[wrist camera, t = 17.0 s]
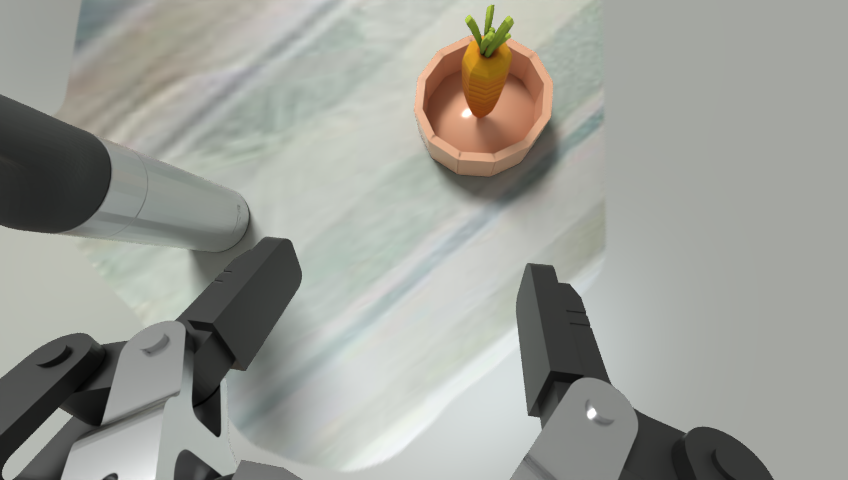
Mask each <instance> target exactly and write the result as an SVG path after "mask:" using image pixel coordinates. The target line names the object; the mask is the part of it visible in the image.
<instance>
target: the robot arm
mask: <svg viewBox="0 0 848 480" xmlns="http://www.w3.org/2000/svg"><path fill="white" fill-rule="evenodd" d="M248 221H249V212H248V207H247V205H246V202H245V201H244V199H243V198H242V197H241V196H240V195H239V194H238V193H237V192H235V191H233V190H231V189H229V188H226V187H224V186H221V185H219V184H216V183H214V182H211V181H209V180H207V179H204V178H202V177H199V176H197V175H194V174H192V173H189V172H187V171H184V170H182V169H179V168H177V167H174V166H172V165H169V164H167V163H164V162H162V161H159V160H157V159H154V158H152V157H149V156H147V155H144V154H142V153H139V152H137V151H134V150H132V149H129V148H127V147H124V146H122V145H119V144H117V143H114V142H112V141H109V140H107V139H104V138H102V137H99V136H97V135H94V134H92V133H89V132H87V131H85V130H82V129H79V128H77V127H74V126H72V125H69V124H67V123H65V122H63V121H60V120H58V119H56V118H53V117H51V116H49V115H47V114H45V113H42V112H40V111H38V110H35V109H33V108H31V107H29V106H26V105H24V104H21V103H19V102H17V101H15V100H12V99H10V98H8V97H5V96H3V95H0V225H2V226H5V227H8V228H12V229H17V230H24V231H32V232H41V233H50V234H59V235H67V236H76V237H85V238H95V239H104V240H112V241H121V242H130V243H139V244H147V245H156V246H165V247H174V248H182V249H190V250H200V251H209V252H221V251H224V250H227V249H229V248H231V247H233V246H234V245H235V244H236V243H237V242H239V241H240V239H241V238H242V237H243V235H244V233H245V231H246V229H247V226H248ZM301 279H302V271H301V268H300V265H299V262H298V259H297V256H296V253H295V250H294V247H293V244H292V242H291V241H290V240H289V239H284V238H274V237H265V238H263V239H262V240H261V241H260V242H259V243H258V244H257V245H256V246H255V247H254V248H253V250H249V251H247V252H245V253H244V254H242V255H241V256H239V257H237V258H236V259H234V260H233V261H232V262H231V263H230V264H229V265H228V267H227V268H226V269H225V270H224V272H223V273H221V274H220V275H219V276H218V277H217V278H216V279H215V282H212V283H211V284H210V285H209V286H208V287H207V288H206V289H205V290H204V291H203V292H202V293H201V294H200V295H199V296H198V298H197V299H196V300H195V301H194V302H193V303H192V304H191V305H190V306H189V307H188V308H187V309H186V310H185V311H184V312H183V313H182V314H181V315H180V316H179V317H178V318H177V319H176V320H175V321H164V322H160V323H157V324H154V325H151V326H149V327H147V328H145V329H144V330H142V331H140V332H139V333H137V334H136V335H135V336H134V337H132V338H131V339H130V340H129V341H123V342H116V343H109V344H103V345H100V344H99V343H97V342H96V341H95V340H94V339H93V338H92V337H91V336H89V335H88V334H84V333H76V334H70V335H66V336H63V337H60V338H57V339H55V340H53V341H51V342H49V343H47V344H45V345H43V346H41V347H40V348H38V349H37V350H35V351H34V352H33V353H31V354H30V355H29V356H28V357H26V358H25V359H24V360H23V361H21V362H20V363H19V364H18V365H17V366H15V367H14V368H13V369H12V370H10V371H9V372H8V373H7V374H6V375H5V376H3V377H2V378H1V379H0V480H4V479H3V477H2V469H3V467H4V464H5V463H6V461H7V460H8V458H9V457H10V456H11V455H12V454H13V453H14V452H15V451H16V450H17V449H18V448H19V447H20V446H21V445H22V444H23V443H24V442H25V441H26V440H27V439H28V438H29V437H30V435H31V434H33V433H34V432H35V431H36V430H37V428H39V426H41V425H42V423H44V422H45V420H46V419H47V418H48V417H49V416H50V415H51V414H52V413H53V412H54V411H55V410H56V409H57V408H58V407H59V408H61V409H62V410H64V411H66V412H67V413H69V414H71V415H73V417H72V418H71V419H70V420H69V421H68V422H67V423H66V424H65V425H64V426H63V428H62V429H61V430H60V431H59V432H58V433H57V434H56V435H55V436H54V437H53V438H52V439H51V440H50V441H49V443H48V444H47V445H46V446H45V447H44V448H43V449H42V450H41V451H40V452H39V453H38V454H37V455H36V456H35V458H34V459H33V460H32V461H31V462H30V463H29V464H28V465H27V466H26V467H25V468H24V469H23V470H22V471H21V473H20V474H19V475H18V476H17V477H15V478H14V479H13V480H302V479H301V478H299V477H297V476H296V475H294V474H293V473H291V472H289V471H288V470H286V469H284V468H281V467H276V466H271V465H266V464H260V463H255V462H249V461H245V460H241V462H240V464H239V466H238V468H237V463H236V459H235V456H234V453H233V451H232V449H231V446H230V442H229V428H228V400H227V381H226V379H225V377H224V376H225V375H226V374H227V372H228V371H229V369H236V370H242V371H246V369H247V367H248V366H249V364H250V363H251V361H252V360H253V358H254V357H255V355H256V353H257V352H258V350H259V349H260V347H261V346H262V344H263V343H264V341H265V339H266V338H267V336H268V335H269V333H270V332H271V330H272V329H273V327H274V325H275V324H276V322H277V321H278V319H279V318H280V316H281V315H282V313H283V311H284V310H285V308H286V307H287V305H288V304H289V302H290V301H291V299H292V297H293V296H294V294H295V293H296V291H297V290H298V288H299V286H300V283H301ZM516 316H517V325H518V334H519V342H520V350H521V359H522V368H523V376H524V385H525V393H526V402H527V411H528V416H534V417H540V420H541V426H542V431H541V433H540V434H539V436H538V437H537V439H536V440H535V442H534V444H533V445H532V447H531V448H530V450H529V452H528V453H527V455H526V456H525V457H524V459H523V460H522V462H521V463H520V465H519V466H518V468H517V469H516V471H515V472H514V474H513V475H512V477H511V479H510V480H774V479H773V478H772V476H771V474H770V473H769V471H768V470H767V468H766V467H765V466H764V464H763V463H762V462H761V461H760V460H759V458H758V457H757V456H755V454H754V453H753V452H752V451H750V449H748V448H747V447H746V446H745V445H743V444H742V443H741V442H740V441H738V440H737V439H735V438H733V437H732V436H730V435H728V434H726V433H724V432H722V431H719V430H717V429H714V428H710V427H697V428H694V429H692V430H691V431H689V432H688V433H684V432H682V431H680V430H678V429H675V428H673V427H671V426H668V425H666V424H664V423H662V422H659V421H657V420H655V419H653V418H650V417H648V416H646V415H644V414H642V413H640V412H639V411H637V410H636V409H634V408H633V407H632V406H631V404H630V402H629V401H628V400H627V398H626V397H625V396H624V395H623V394H622V393H621V392H620V391H619V390H617V389H616V388H615V387H614V386H612V384H611V382H610V380H609V378H608V375H607V372H606V369H605V366H604V363H603V360H602V357H601V354H600V352H599V349H598V346H597V343H596V340H595V337H594V334H593V331H592V328H590V322H589V319H588V317H587V316H586V311H585V308H584V305H583V302H582V299H581V297H580V296H579V295H578V293H577V292H576V291H575V290H574V289H573V288H572V286H571V285H570V284H566V283H558V280H557V276H556V272H555V269H554V267H553V266H552V265H543V264H532V263H528V264H527V265H526V267H525V271H524V274H523V278H522V281H521V285H520V288H519V292H518V295H517V301H516Z"/></svg>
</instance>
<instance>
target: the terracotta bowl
mask: <svg viewBox="0 0 848 480" xmlns="http://www.w3.org/2000/svg"><path fill="white" fill-rule="evenodd" d="M481 37H482V35H481ZM474 40H475V38H474V36H473V35H470V36H468V37H465V38H463V39H461V40H459V41H457V42H455V43H453V44H451V45H449V46H447V47H445V48H443V49H440V50H439V51H438V52H437V53H436V54H435V56H434V57H433V58H432V60H431V61H430V62H429V64H428V65H427V66H426V68H425V69H424V70H423V72H422V73H421V74H420V76H419V77H418V80H417V89H416V98H415V106H414V112H415V117H416V121H417V125H418V129H419V132H420V134H421V136H422V138H423V140H424V143H425V145H426V147H427V149H428V151H429V153H430V155H431V157H432V158H433V159H435V160H436V161H438V162H439V163H441V164H442V165H444V166H445V167H447V168H448V169H450V170H452V171H453V172H455V173H456V174H458V175H472V176H487V177H490V176H493V175H495V174H497V173H499V172H502V171H504V170H506V169H508V168H510V167H513V166H515V165H517V164H519V163H521V161H522V160H523V159H524V157H525V156H526V154H527V153H528V152H529V150H530V149H531V147H532V146H533V145H534V143H535V142H536V140H537V139H538V138H539V136H540V134H541V133H542V131H543V129H544V128H545V126H546V124H547V123H548V121H549V119H550V117H551V108H552V91H553V81H552V79H551V78H550V76H549V74H548V73H547V71H546V69H545V67H544V66H543V64H542V62H541V60H540V59H539V57H538V55H537V53H536V52H534V51H532V50H530V49H528V48H527V47H525V46H523V45H521V44H519V43H518V42H516V41H514V40H512V39H510V38H509V39H508V40H507V41H506V44H507V46H508V47H509V49H510V51H511V53H512V62H511V66H510V70H509V73H508V76H507V79H506V83H505V85H504V88H503V90H502V93H501V95H500V98H499V100H498V102H497V104H496V106H495V107H494V109H493V111H492V112H491V113H489V114H488V115H486V116H485V117H482V118H477V117H475V116H474V115H473V114H472V112H471V111H470V108H469V106H468V104H467V102H466V99H465V96H464V91H463V87H462V60H463V57H464V55H465V53H466V50H467V48H468V46H469V43H470V42H471V41H474Z"/></svg>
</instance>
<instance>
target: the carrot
mask: <svg viewBox="0 0 848 480" xmlns="http://www.w3.org/2000/svg"><path fill="white" fill-rule="evenodd" d="M493 13H494V5H490V6H489V7H487V12H486V20H485V30H484V36H482V37H481V34H480V31H479V29H478V26H477V24H476V22H475V20H474V19H473V18H472V17H471V16H470V15H469V16H467V18H466V19H465V22H466V23H467V25H468V27H469V28H470V30H471V32H472V34H473V36H474V38H475V40H474V41H471V42H470V43H469V46H468V48H467V50H466V53H465V55H464V57H463V60H462V87H463V91H464V96H465V99H466V102H467V104H468V106H469V108H470V111H471V112H472V114H473V115H474V116H475V117H477V118H482V117H485V116H486V115H488V114H489V113H491V112H492V111H493V109H494V107H495V106H496V104H497V102H498V100H499V98H500V95H501V93H502V90H503V88H504V85H505V83H506V79H507V76H508V73H509V70H510V66H511V62H512V53H511V51H510V49H509V47H508V46H507V44H506V41H507V40H508V39H509V38H510V37H511V35H510V33H508V31H509V30H510V28H511V27H512V25H513V24H514V22H513V19H512V18H511V17H510V16H507V17H506V19H505V20H504V21H503V23H502V24H501V25H500V27H499V28H498V30H497V32H496V33H495V29H494V28H493V27H491V24H492V19H493Z"/></svg>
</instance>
